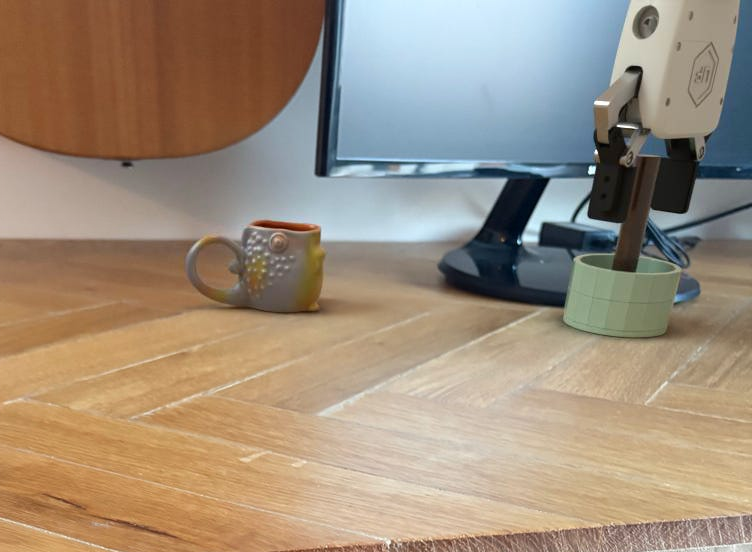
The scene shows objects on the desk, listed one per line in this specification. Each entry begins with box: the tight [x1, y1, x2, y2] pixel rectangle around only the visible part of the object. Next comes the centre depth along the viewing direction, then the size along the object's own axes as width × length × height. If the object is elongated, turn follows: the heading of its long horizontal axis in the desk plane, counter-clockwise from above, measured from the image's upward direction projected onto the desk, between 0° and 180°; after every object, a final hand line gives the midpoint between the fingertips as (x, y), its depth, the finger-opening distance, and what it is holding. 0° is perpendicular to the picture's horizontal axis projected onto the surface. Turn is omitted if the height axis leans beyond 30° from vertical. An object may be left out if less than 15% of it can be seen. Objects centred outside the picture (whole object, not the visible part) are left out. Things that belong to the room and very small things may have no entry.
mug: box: [185, 219, 326, 313], centre depth 84 cm, size 12×7×7 cm, turn 105°
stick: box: [611, 153, 662, 273], centre depth 82 cm, size 3×3×13 cm
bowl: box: [562, 253, 683, 338], centre depth 84 cm, size 9×9×5 cm
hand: (638, 216), depth 81 cm, fingers open, 9 cm apart
